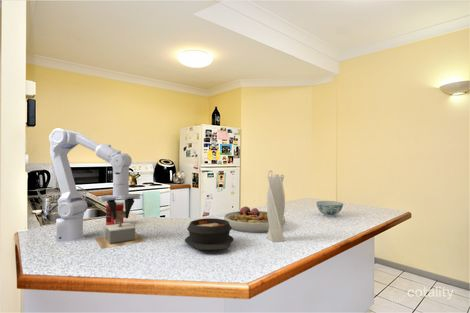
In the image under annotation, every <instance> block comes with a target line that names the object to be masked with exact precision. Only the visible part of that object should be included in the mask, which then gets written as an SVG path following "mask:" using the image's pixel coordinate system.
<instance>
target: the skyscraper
mask: <svg viewBox="0 0 470 313" xmlns="http://www.w3.org/2000/svg"><path fill="white" fill-rule="evenodd" d="M266 178H267V181H268V187H267V192H266V212H267V216H268V222H269V231H268V232H267V235H266V239H267V240H269V241H271V242H272V243H277V242H285V237H284V232H283V229H282V228H283V226H282V222H283V217H285V208H286V196H285V189H284V183H283V182H284V178H285V175H284V174H281V175H280V174H273V171H272V170H269V171H268V173H267V177H266ZM281 226H282V227H281Z"/></svg>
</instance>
